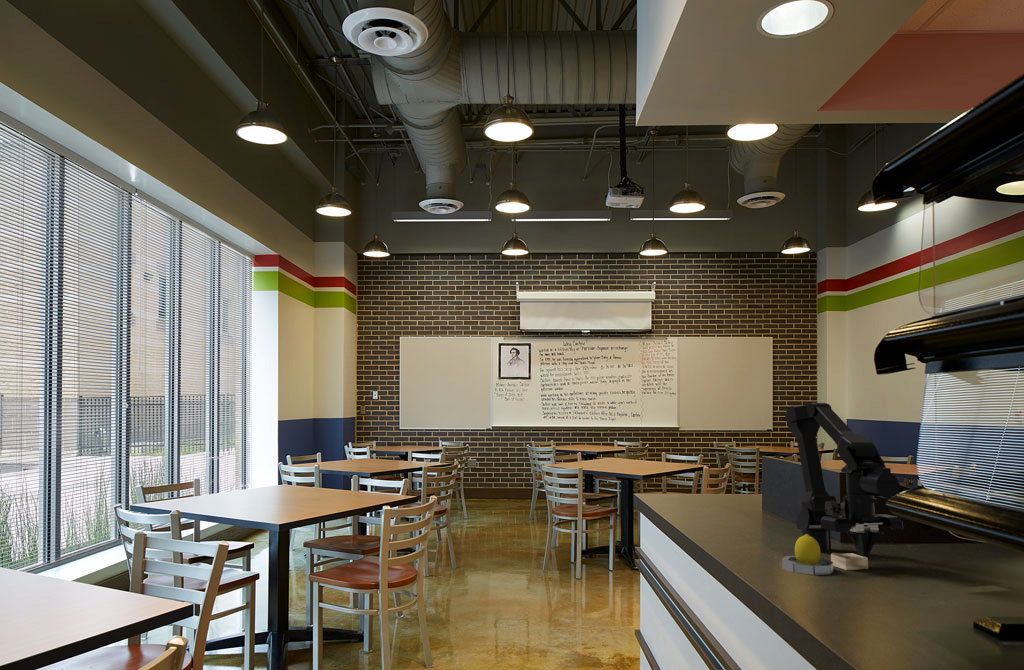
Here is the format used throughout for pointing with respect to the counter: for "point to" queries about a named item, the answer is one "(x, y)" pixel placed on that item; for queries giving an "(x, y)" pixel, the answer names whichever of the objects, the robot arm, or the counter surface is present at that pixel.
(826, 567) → the ring
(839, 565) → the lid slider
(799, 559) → the lemon
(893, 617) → the counter surface
